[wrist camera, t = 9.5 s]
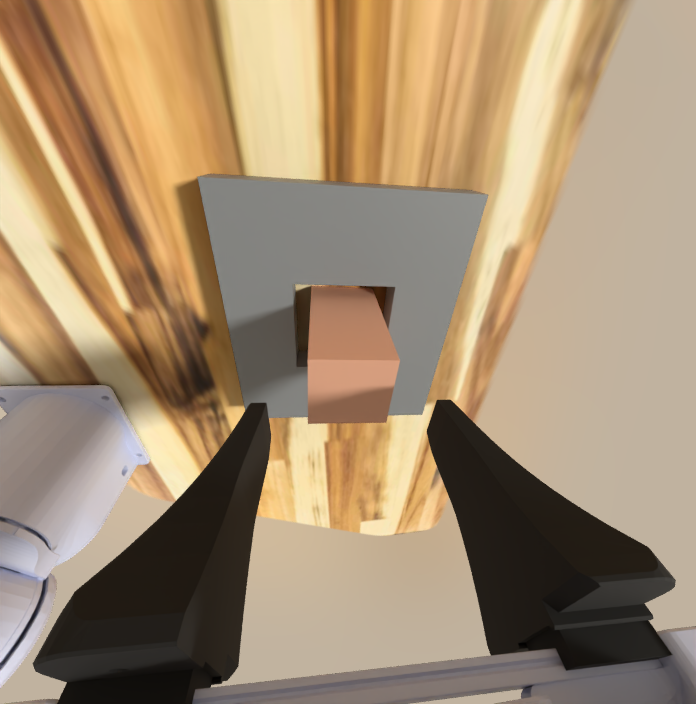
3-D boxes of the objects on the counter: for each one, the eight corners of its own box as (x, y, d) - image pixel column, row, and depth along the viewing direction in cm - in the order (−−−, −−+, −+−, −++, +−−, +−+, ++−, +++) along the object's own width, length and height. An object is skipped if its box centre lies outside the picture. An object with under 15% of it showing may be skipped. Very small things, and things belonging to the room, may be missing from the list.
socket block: (415, 397, 25) (422, 414, 24) (251, 399, 24) (246, 418, 22) (471, 190, 16) (488, 194, 14) (210, 173, 15) (197, 176, 13)
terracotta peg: (365, 339, 21) (386, 422, 15) (311, 337, 21) (307, 423, 14) (372, 288, 19) (399, 360, 13) (311, 285, 19) (307, 359, 12)
